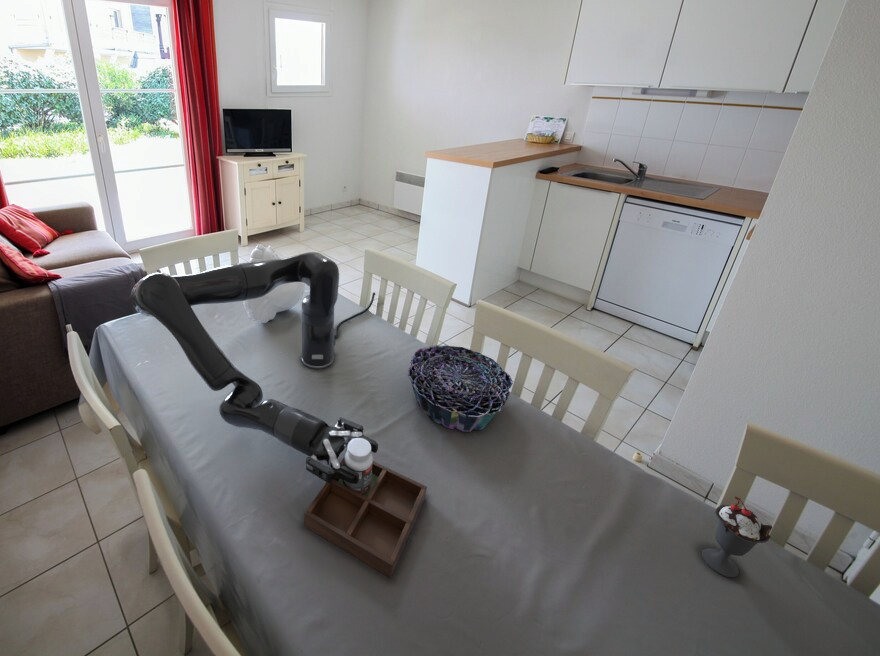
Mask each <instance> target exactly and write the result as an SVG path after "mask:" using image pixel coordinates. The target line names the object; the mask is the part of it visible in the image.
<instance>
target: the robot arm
mask: <svg viewBox="0 0 880 656" xmlns="http://www.w3.org/2000/svg"><path fill="white" fill-rule="evenodd" d="M293 282H303V283H305V285H307V286H308V287H309V294H308V295H305V296H304V297H302V299H301V362H302V364H303V365H305V366H306V367H307V368H310V369H314V370H321V369H325V368H328V367H330V366H331V365H332V364H333V362H334V356H335V345H336V339H338V337H339V330H340V327H341V326H342V325H343V324H345V323H346V322H348V321H351V320H353V319H354V318H355V319H356V317H359V316H361V315H363V314H365V313H366V312H367V311H368V310H370V308H371V307H372V304H373V303H374V300H375V295H376V292H373V293H372V295H371V299H370V302H369V304H368V306H367V307H366V308H365V309H363V310H362V311H360V312H358V313H357V312H356V314H353V315H351V316H349V317H347V318H345V319H343V320H341V321H340V322H339V323H338V324H337V325H336V328H335V306H336V303H337V301H338V297H339V287H340V286H339V285H340V270H339V266H338V264H337V262H335V261H334V260H333V259H330V258H329V257H327V256H325V255H324V254H322V253H319V252H316V251H308V252H304V253H299V254H296V255H292V256H287V257H284V258H283V257H282V258H280V259H275V260H266V261H258V262H250V261H249V262H240V263H233V264H229V265H223V266H218V267H215V268H211V269H207V270H204V271H201V272H197V273H193V274H183V275H170V274H168V273H165V272H154V273H151V274H148V275H145V276H144V277H142V278H141V279H139V280H138V281H136V283H135V284H134V286H133V288H132V289H131V292H130V302H131V305H132V306H133V308H134V309H135V310H136V312H137V313H139V314H141V315H143V316H146V317H151V318H155V319H156V320H157V321H158V322H159V323H161V324H162V325H163V326H164V327H165V328H166V329H167V330H168V331H169V332H170V334H171V335H172V336H173V338H174V339H175V340H176V341H177V343H178V345H179V346H180V348H181V349H182V351H183V353H184V355H185V357H186V358H187V360H188V362H189V363H190V365H191V366H192V368H193V369H194V371H195V372H196V373H197V374H198V376H199V377H200V378H201V379H202V380H203V382H204V383H205V384H206V385H207V386H208V388H209V389H210V390H212V391H214V392H218V391H219V392H220V391H221V390H223V389H225V388H226V387H227V386H229V385H230V384H232V385H233V386H234V387H233V388H232V390H231V391H230V392H229V393H228V394H227V395H226V396H225V397H224V399H222V401H221V403H220V404H219V407H218V408H219V409H218V410H219V415H220V416H221V418H222V419H223V421H224V422H226V423H227V424H229V425H231V426H234V427H238V428H243V429H251V430H257V431H262V432H264V433H266V434H267V435H269V436H271V437H273V438H275V439H277V440H278V441H280V442H281V443H283V444H284V445H286V446H288V447H289V448H292V449H294V450H296V451H298V452H300V453H302V454H304V455H305V456H307V457H306V458H305V470H306V471H307V472H309V473H311V474H312V475H313V476H316V477H317V478H319V479H320V480H322V481H324V482H325V483H326V482H327V483H331V482H332V480H333V479H334V478H338V477H339V478H341V479H343V480H345V481H347V482H349V483H351V484H353V483H355V484H357V483H358V481H359V474H358V473H357V472H355V471H353V470H351V469H349V468H347V467H345V466H343V465H342V466H341V467H340V465H339V464H340V462H339V460H338V459H339V458H340V455H341V453H342V452H344V450H345V449H346V448H348V443H349V442H350V441H351V440H352V439H354V438H363V439H365V440H367V441H368V442H369V443H370V445H371V453H373V454H377V453H378V450H379V443H378V442H377V441H376V440H375V439H372V438H370V437H368V436H366V435H364V426H363V425H362V424H360V423H357V422H354V421H352V420H349V419H346V418H344V417H338V418H337V423H336V424H335V425H334V426H331V425H329V424H328V423H327V422H326V421H325V420H323V419H321V418H319V417H316V416H315V415H312V414H310V413H307V412H305V411H303V410H301V409H299V408H295V407H292V406H290V405H288V404H286V403H283V402H280V401H279V400H277V399H275V398H274V399H273V398H268V399H266V400H264V401H263V399H264V393H263V390H262V387H261V386H260V385H259V383H258V382H256V381H254V380H253V379H252V378H250V377H249V376H247V375H246V374H245V373H244V372H243V371H241V370H239V368H237V367H236V366H235V365H234V364H233V363H232V361H230V359H229V358H228V357H227V355H226V354H225V353H224V351H223V350H222V349H221V347H220V346H219V345H218V344H217V342H216V341H215V340H214V339H213V337H212V336H211V335H210V333H209V332H208V331H207V329H206V328H205V327H204V325H203V323H202V322H201V320H200V319H199V317H198V316H197V314H196V313H195V311H194V309H193V308H192V307H193V306H199V305H200V306H201V305H217V304H229V303H230V304H231V303H238V302H239V303H240V302H243V301H246V300H251V299H256V298H260V297H263V296H265V295H266V294H268V293H269V292H271V291H272V290H273V289H275V288H276V287H277V286H279V285H282V284H286V283H293ZM345 438H346V439H345ZM321 461H325V464H326V465H325V464H323V463H322V462H321Z"/></svg>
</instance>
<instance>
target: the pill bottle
mask: <svg viewBox="0 0 880 656" xmlns="http://www.w3.org/2000/svg"><path fill="white" fill-rule="evenodd" d="M344 456H345V457H343V458H344V466H345V467H347V468H349V469H351V470H353V471H355V472H357V473H358V474H359V481H358V483H357V484H355V483H353V484H351V483H349V482H347V481H345V480H343V483H344V485H345V486H347V487H348V488H350V489H352V490H354V491H356V492H358V493H360V494H364V493H366V492H367V491H368V490H369V488H370V486H371V479H372V466H373V461H374V457H373V454H372V452H371V445H370V443H369V442H368V441H367V440H365V439H363V438H352V440H351V441H350V442H349V443H348V447H347V450H346V451H345V453H344Z"/></svg>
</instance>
